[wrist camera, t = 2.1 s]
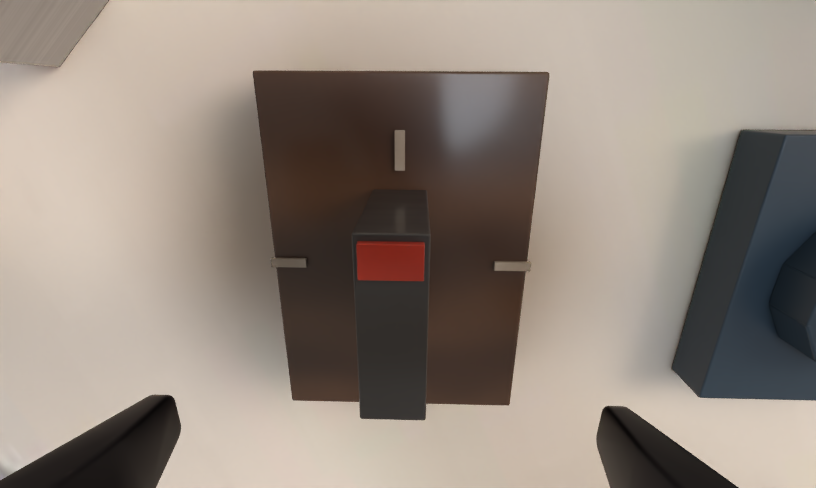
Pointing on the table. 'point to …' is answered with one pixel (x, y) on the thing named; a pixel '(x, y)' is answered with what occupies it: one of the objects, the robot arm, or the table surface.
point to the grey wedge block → (43, 29)
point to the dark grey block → (392, 303)
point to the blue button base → (758, 277)
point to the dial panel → (403, 170)
